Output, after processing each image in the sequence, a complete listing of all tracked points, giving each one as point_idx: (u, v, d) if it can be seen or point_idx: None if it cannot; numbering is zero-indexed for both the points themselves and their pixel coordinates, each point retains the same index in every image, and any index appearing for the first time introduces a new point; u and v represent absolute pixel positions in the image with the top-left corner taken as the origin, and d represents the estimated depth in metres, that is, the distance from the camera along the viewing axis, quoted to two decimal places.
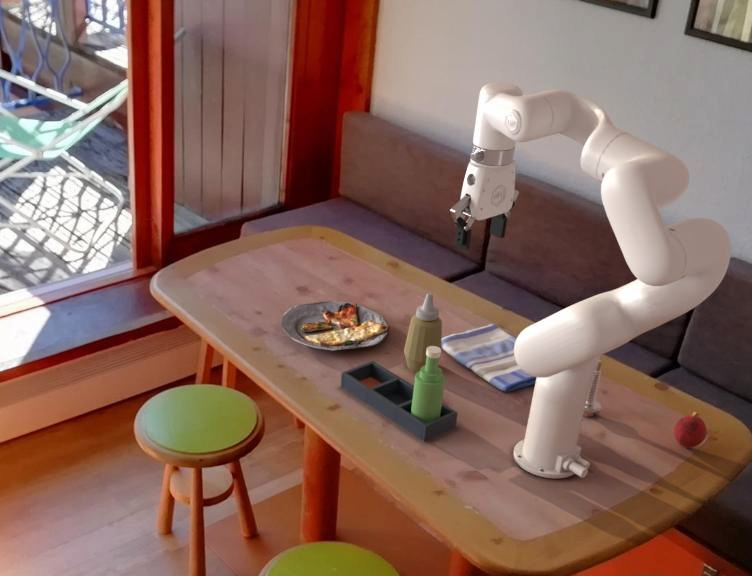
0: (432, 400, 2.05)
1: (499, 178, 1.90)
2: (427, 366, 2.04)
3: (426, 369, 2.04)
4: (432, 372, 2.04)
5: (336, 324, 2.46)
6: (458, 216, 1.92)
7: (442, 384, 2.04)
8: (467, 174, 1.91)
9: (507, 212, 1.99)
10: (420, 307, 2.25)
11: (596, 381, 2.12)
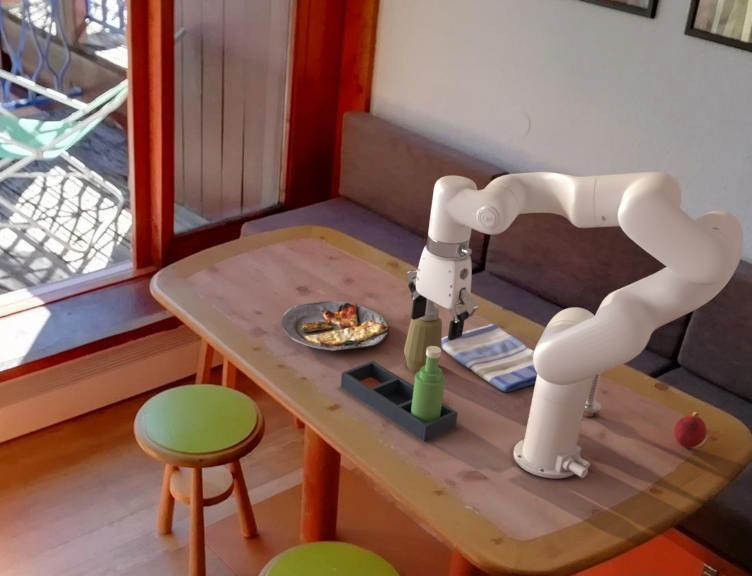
0: (432, 400, 2.05)
1: None
2: (427, 366, 2.04)
3: (426, 369, 2.04)
4: (432, 372, 2.04)
5: (336, 324, 2.46)
6: None
7: (442, 384, 2.04)
8: (458, 272, 1.89)
9: None
10: None
11: (596, 381, 2.12)
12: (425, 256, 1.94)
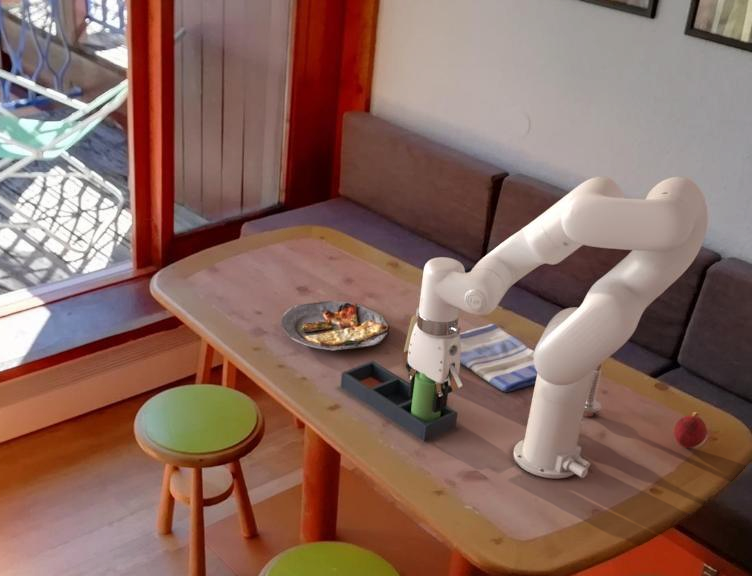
0: (432, 400, 2.05)
1: None
2: None
3: None
4: None
5: (336, 324, 2.46)
6: None
7: (442, 384, 2.04)
8: (448, 349, 1.97)
9: None
10: None
11: (596, 381, 2.12)
12: (416, 332, 2.02)
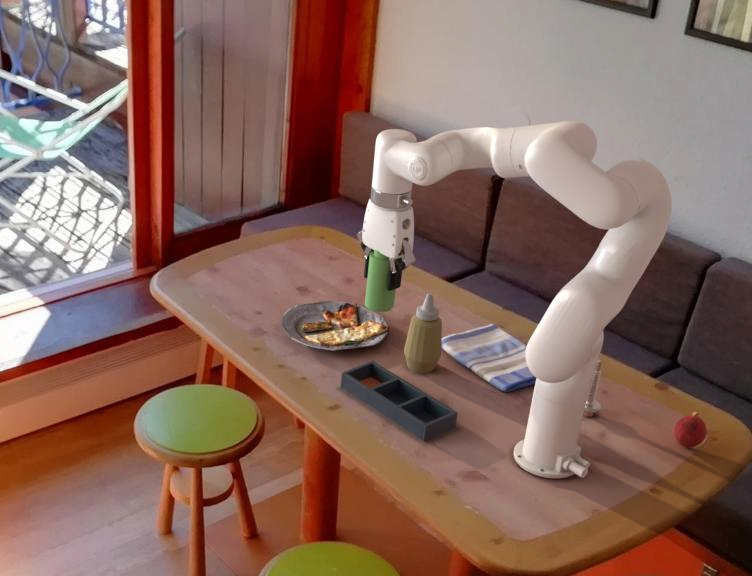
0: (386, 278, 2.05)
1: None
2: None
3: None
4: None
5: (336, 324, 2.46)
6: None
7: (396, 262, 2.04)
8: (401, 222, 1.97)
9: None
10: (420, 307, 2.25)
11: (596, 381, 2.12)
12: (369, 208, 2.02)
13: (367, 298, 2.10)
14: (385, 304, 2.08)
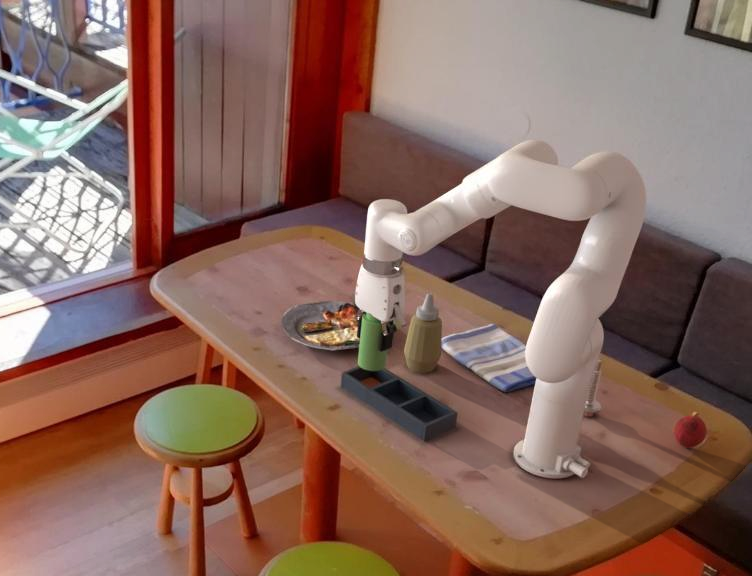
0: (378, 340, 2.13)
1: None
2: None
3: None
4: None
5: (336, 324, 2.46)
6: None
7: (388, 324, 2.12)
8: (392, 287, 2.05)
9: None
10: (420, 307, 2.25)
11: (596, 381, 2.12)
12: (362, 273, 2.09)
13: (360, 357, 2.17)
14: (377, 363, 2.16)
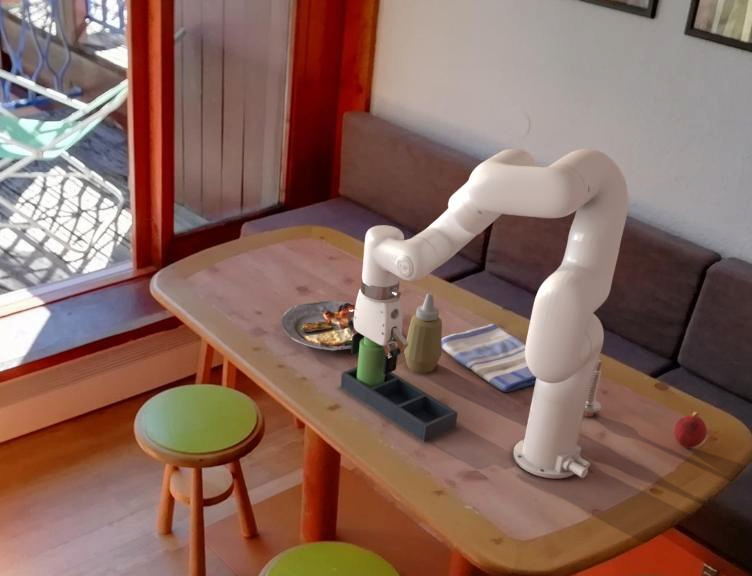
0: (375, 365, 2.16)
1: None
2: None
3: None
4: None
5: (336, 324, 2.46)
6: None
7: None
8: (389, 312, 2.08)
9: None
10: (420, 307, 2.25)
11: (596, 381, 2.12)
12: (360, 298, 2.12)
13: None
14: None
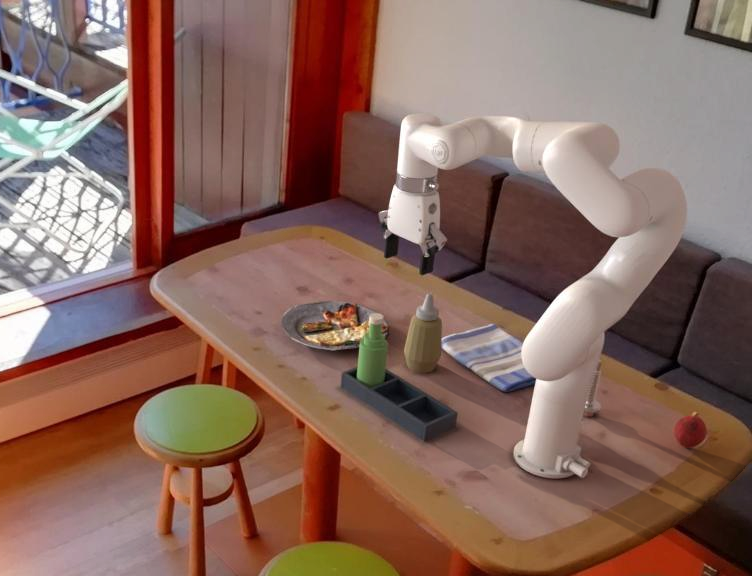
0: (375, 365, 2.16)
1: None
2: (370, 332, 2.14)
3: (369, 335, 2.15)
4: (375, 338, 2.15)
5: (336, 324, 2.46)
6: None
7: (385, 349, 2.15)
8: (427, 206, 1.97)
9: None
10: (420, 307, 2.25)
11: (596, 381, 2.12)
12: (395, 194, 2.01)
13: None
14: None
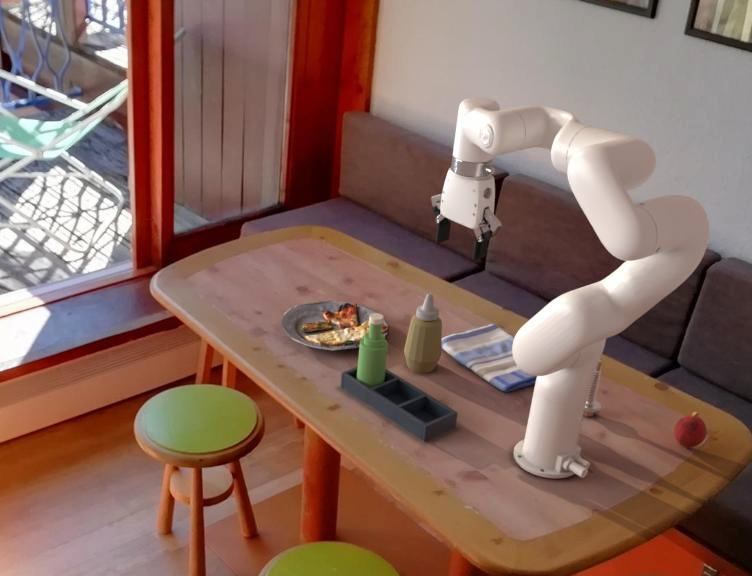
0: (375, 365, 2.16)
1: None
2: (370, 332, 2.14)
3: (369, 335, 2.15)
4: (375, 338, 2.15)
5: (336, 324, 2.46)
6: None
7: (385, 349, 2.15)
8: (482, 191, 1.96)
9: None
10: (420, 307, 2.25)
11: (596, 381, 2.12)
12: (449, 178, 2.00)
13: None
14: None
